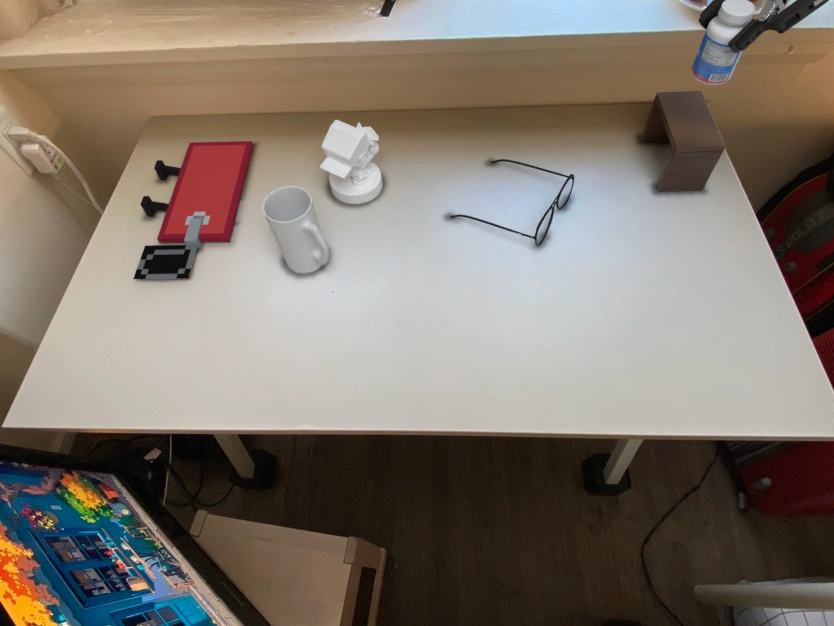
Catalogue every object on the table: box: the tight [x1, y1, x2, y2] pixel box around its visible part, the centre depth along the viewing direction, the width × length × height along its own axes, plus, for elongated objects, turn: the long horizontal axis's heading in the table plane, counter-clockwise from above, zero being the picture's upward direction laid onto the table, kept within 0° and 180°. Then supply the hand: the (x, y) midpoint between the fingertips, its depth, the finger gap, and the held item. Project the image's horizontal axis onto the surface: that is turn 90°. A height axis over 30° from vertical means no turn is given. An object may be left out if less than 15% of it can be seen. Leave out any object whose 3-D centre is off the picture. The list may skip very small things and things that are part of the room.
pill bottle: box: [690, 0, 756, 86], centre depth 75 cm, size 6×5×10 cm
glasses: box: [449, 158, 575, 247], centre depth 88 cm, size 14×15×5 cm
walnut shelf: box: [640, 89, 727, 193], centre depth 89 cm, size 13×7×9 cm, turn 0°
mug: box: [262, 185, 330, 274], centre depth 80 cm, size 10×7×12 cm, turn 48°
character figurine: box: [319, 119, 383, 205], centre depth 89 cm, size 9×10×12 cm
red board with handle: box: [132, 140, 254, 280], centre depth 92 cm, size 30×3×15 cm
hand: (716, 36), depth 73 cm, fingers closed on pill bottle, 5 cm apart
